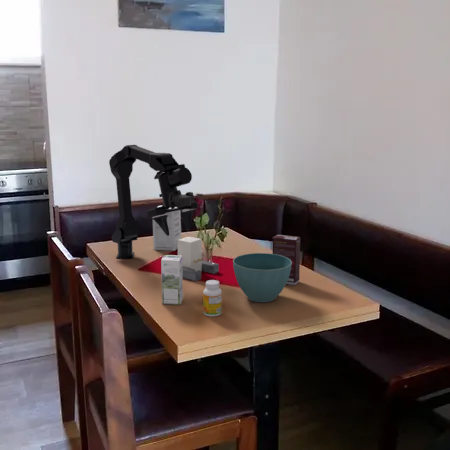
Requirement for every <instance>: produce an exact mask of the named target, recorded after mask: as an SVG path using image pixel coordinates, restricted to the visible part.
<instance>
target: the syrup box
mask: <svg viewBox="0 0 450 450" xmlns="http://www.w3.org/2000/svg"><path fill="white" fill-rule="evenodd" d="M160 264H161V266H160V267H161V269H160V271H161V304H162V305H172V306H174V305H176V306H179V305H181V304H182V302H183V300H184V290H183V289H184V288H183V283H184V282H183V279H184V278H183V262H182V255H178V254H177V255H175V254H164V255H163V256H162V258H161V261H160Z"/></svg>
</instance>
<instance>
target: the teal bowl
mask: <svg viewBox="0 0 450 450" xmlns="http://www.w3.org/2000/svg"><path fill="white" fill-rule="evenodd" d="M291 265H292V261H291V260H290V259H289V258H287V257H284V256H281V255H276V254H273V253H266V252H263V253H262V252H255V253H254V252H253V253H246V254H241V255H238V256H236V257H234V258H233V259H232V266H233V271H234V272H233V273H234V275H235V279H236V282H237V284H238V286H239V288H240V290H241V291H242V292H243V293H244V295H245V296H246V297H247V299H249V300H250V301H252V302H256V303H269V302H273V301H274V300H275V299H277V298H278V296H279V295H280V294H281V292H282V291H283V290H284V288H285V286H286V285H287V284H286V283H287V281H288V278H289V275H290V271H291Z"/></svg>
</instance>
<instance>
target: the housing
mask: <svg viewBox="0 0 450 450" xmlns="http://www.w3.org/2000/svg"><path fill="white" fill-rule="evenodd" d="M219 266H220V265H219V263H216V262H212V261H211V262H210V261H207V260H202V271H199V270H195V269H191V268H187V267H183V279H185V280H189V281H193V282H198V281H201V280H202V272H203V271H204V272H203V273H207V272H208V274H211V273H212V275H215V274H217V273H219V271H220V270H219V268H220V267H219Z"/></svg>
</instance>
